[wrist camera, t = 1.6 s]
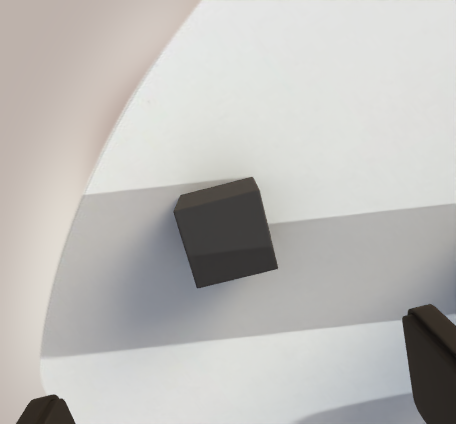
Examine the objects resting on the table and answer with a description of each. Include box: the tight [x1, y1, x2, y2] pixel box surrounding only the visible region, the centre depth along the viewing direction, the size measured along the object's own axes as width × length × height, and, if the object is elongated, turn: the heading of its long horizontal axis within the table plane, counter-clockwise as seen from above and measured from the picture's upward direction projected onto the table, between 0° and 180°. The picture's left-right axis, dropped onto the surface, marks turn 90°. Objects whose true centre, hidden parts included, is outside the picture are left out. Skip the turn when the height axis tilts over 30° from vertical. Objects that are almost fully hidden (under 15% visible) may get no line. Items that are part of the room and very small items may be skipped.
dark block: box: [174, 177, 278, 288], centre depth 23 cm, size 5×5×4 cm
